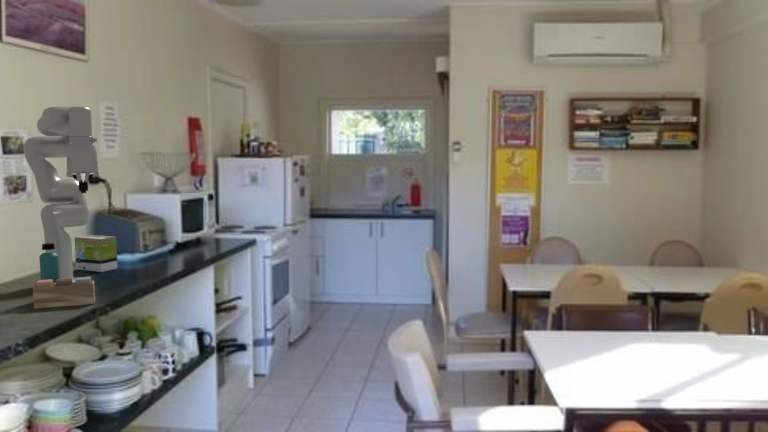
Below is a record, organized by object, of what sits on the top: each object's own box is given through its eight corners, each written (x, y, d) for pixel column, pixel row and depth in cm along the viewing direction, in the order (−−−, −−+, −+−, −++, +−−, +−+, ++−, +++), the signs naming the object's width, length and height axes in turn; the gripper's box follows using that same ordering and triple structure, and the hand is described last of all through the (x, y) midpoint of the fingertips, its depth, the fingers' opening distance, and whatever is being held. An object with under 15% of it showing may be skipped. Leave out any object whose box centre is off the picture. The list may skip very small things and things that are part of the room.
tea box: (75, 270, 309) (73, 237, 307) (92, 266, 318) (90, 234, 317) (101, 272, 303) (100, 238, 302) (118, 268, 312) (117, 235, 311)
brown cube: (58, 293, 241) (57, 278, 241) (72, 292, 243) (71, 278, 242) (56, 295, 237) (55, 281, 236) (71, 294, 238) (70, 280, 238)
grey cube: (77, 291, 243) (76, 277, 243) (91, 290, 245) (90, 276, 244) (76, 294, 239) (75, 280, 238) (90, 293, 240) (89, 279, 240)
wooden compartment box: (36, 304, 240) (35, 284, 240) (95, 300, 246) (94, 280, 246) (33, 308, 234) (32, 287, 233) (94, 303, 240) (93, 283, 239)
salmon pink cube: (38, 294, 239) (38, 280, 239) (53, 293, 241) (52, 279, 240) (37, 297, 235) (36, 282, 234) (52, 296, 236) (51, 281, 236)
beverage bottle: (53, 301, 245) (50, 244, 243) (36, 300, 246) (33, 244, 244) (65, 297, 251) (62, 242, 249) (49, 297, 252) (46, 241, 250)
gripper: (104, 141, 257) (106, 191, 258) (59, 142, 252) (62, 193, 254) (103, 141, 250) (105, 193, 251) (57, 141, 245) (59, 194, 246)
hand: (83, 192), depth 252 cm, fingers closed
